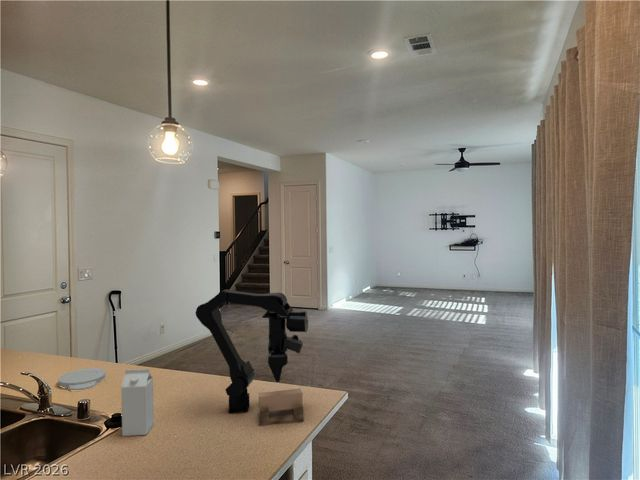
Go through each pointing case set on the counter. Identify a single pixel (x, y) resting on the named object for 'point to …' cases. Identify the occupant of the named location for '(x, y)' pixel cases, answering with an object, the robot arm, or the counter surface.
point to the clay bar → (281, 399)
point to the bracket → (281, 415)
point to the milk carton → (137, 402)
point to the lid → (82, 378)
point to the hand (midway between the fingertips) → (277, 376)
